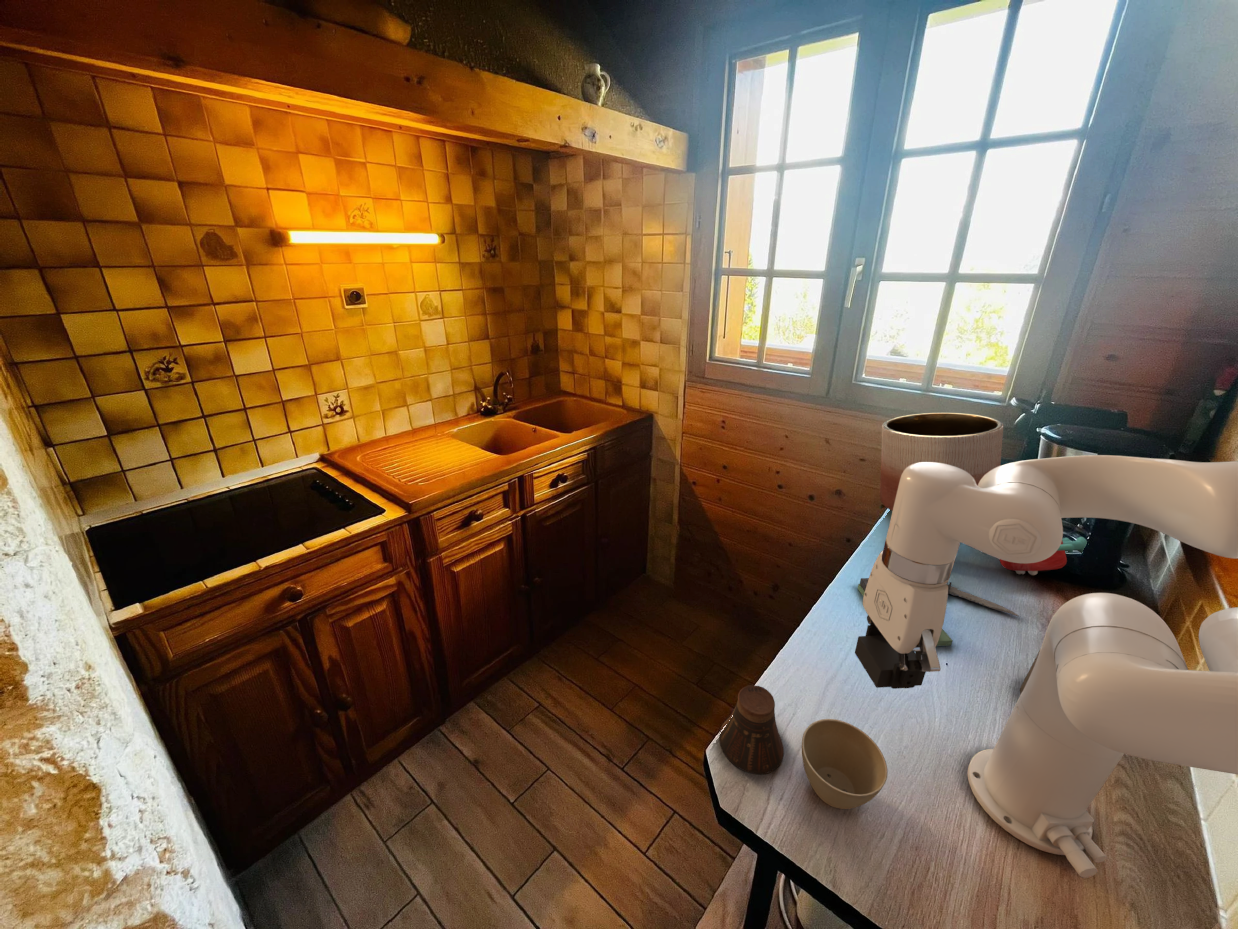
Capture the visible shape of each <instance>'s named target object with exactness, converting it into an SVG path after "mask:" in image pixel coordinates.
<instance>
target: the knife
mask: <svg viewBox="0 0 1238 929" xmlns="http://www.w3.org/2000/svg"><path fill="white" fill-rule="evenodd" d="M947 585H948V595H952V596H954V597H956V596H957V597H960V598H962V599H965V600H968V601H971V602H973V603H976V604H979V605H980V606H981V605H982V606H983V607H987V608H990V609H993V610H996V611H999V612H1002V613H1003V612H1004V613H1005V614H1006V613H1007V614H1010V615H1012V616H1016V617H1019V618H1020V617H1021V616H1020V615H1018V614H1017V613H1016V612H1015V611H1013V610H1011V609H1009V608H1007V607H1005V606H1003V605H1000V604H998V603H995V602H993V601H990V600H987V599H985V598H982V597H979V596H977V595H974V594H971V593H969V592H966V591H963V590H960V589H958V587H955V586H953V585H952V581H949V582H948V584H947Z"/></svg>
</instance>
